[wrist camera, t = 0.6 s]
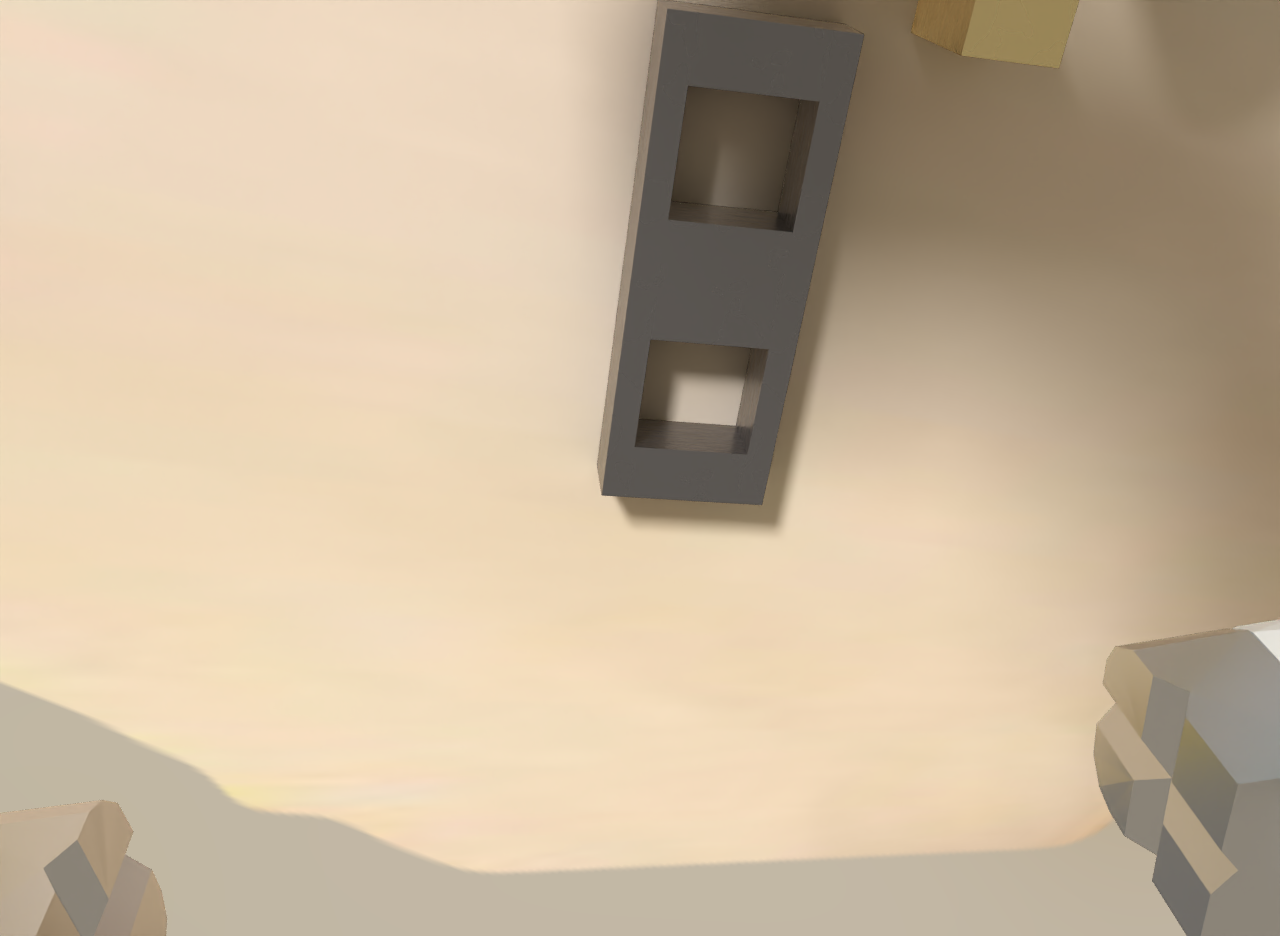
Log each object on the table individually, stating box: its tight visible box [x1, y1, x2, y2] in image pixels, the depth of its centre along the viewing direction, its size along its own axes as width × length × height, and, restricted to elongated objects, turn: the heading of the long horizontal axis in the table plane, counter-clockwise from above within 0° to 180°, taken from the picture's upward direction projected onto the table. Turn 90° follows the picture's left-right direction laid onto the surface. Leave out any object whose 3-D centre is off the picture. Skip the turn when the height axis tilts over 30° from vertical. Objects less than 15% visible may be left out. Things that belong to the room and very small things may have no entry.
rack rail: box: [597, 0, 864, 505], centre depth 50 cm, size 22×8×3 cm, turn 172°
